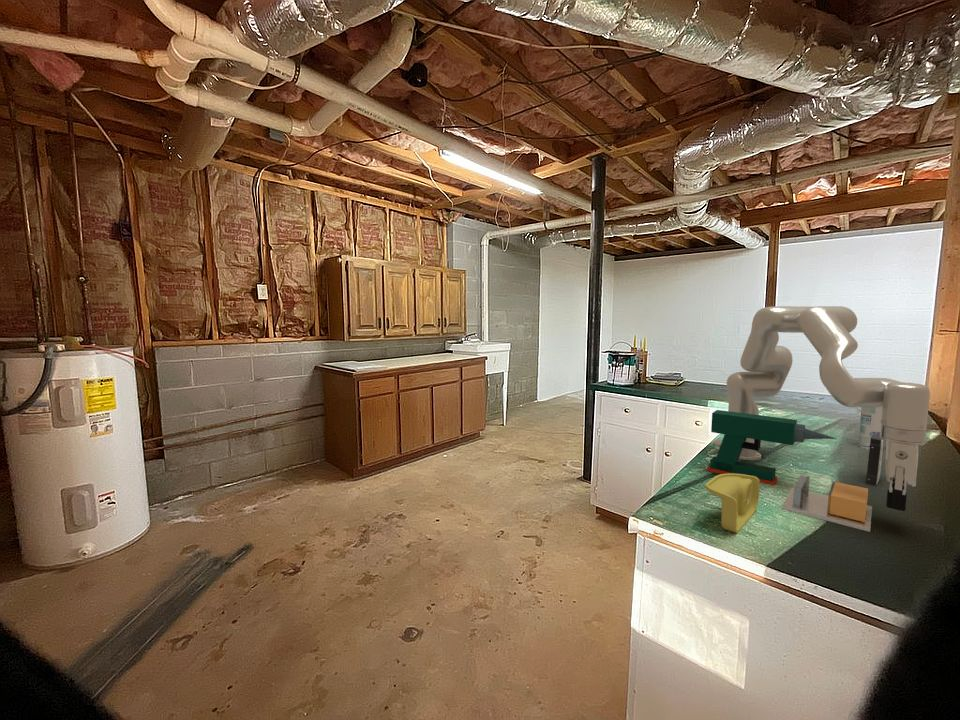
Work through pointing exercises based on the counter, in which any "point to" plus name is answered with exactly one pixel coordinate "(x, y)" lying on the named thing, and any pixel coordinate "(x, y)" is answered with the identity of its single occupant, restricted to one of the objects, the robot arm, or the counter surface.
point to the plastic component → (735, 498)
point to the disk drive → (874, 459)
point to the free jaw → (848, 501)
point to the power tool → (757, 429)
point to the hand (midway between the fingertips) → (895, 508)
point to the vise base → (819, 506)
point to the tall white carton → (869, 424)
